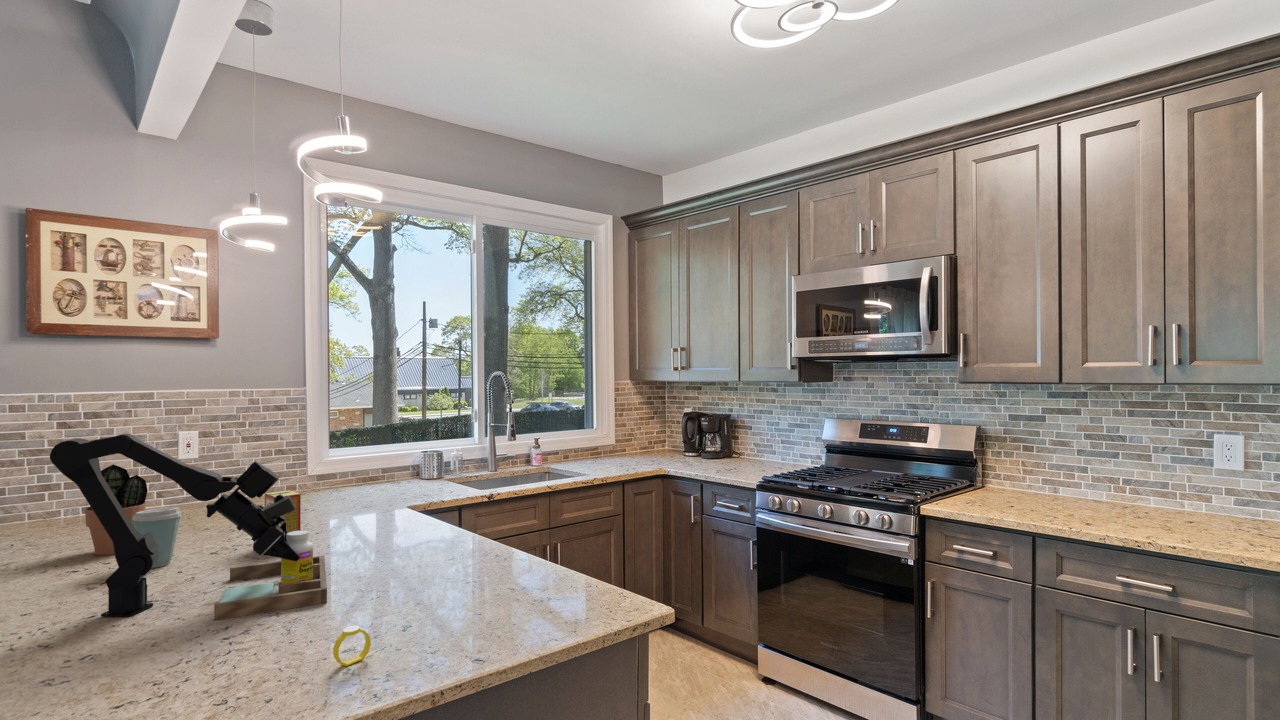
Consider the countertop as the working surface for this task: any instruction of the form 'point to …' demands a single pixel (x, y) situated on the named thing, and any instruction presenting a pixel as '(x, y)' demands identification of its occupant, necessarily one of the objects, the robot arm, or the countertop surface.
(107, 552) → the potted plant
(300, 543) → the supplement bottle
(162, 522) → the disposable coffee cup
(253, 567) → the wooden compartment box
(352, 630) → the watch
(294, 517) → the baking soda box
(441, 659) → the countertop surface
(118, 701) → the countertop surface
